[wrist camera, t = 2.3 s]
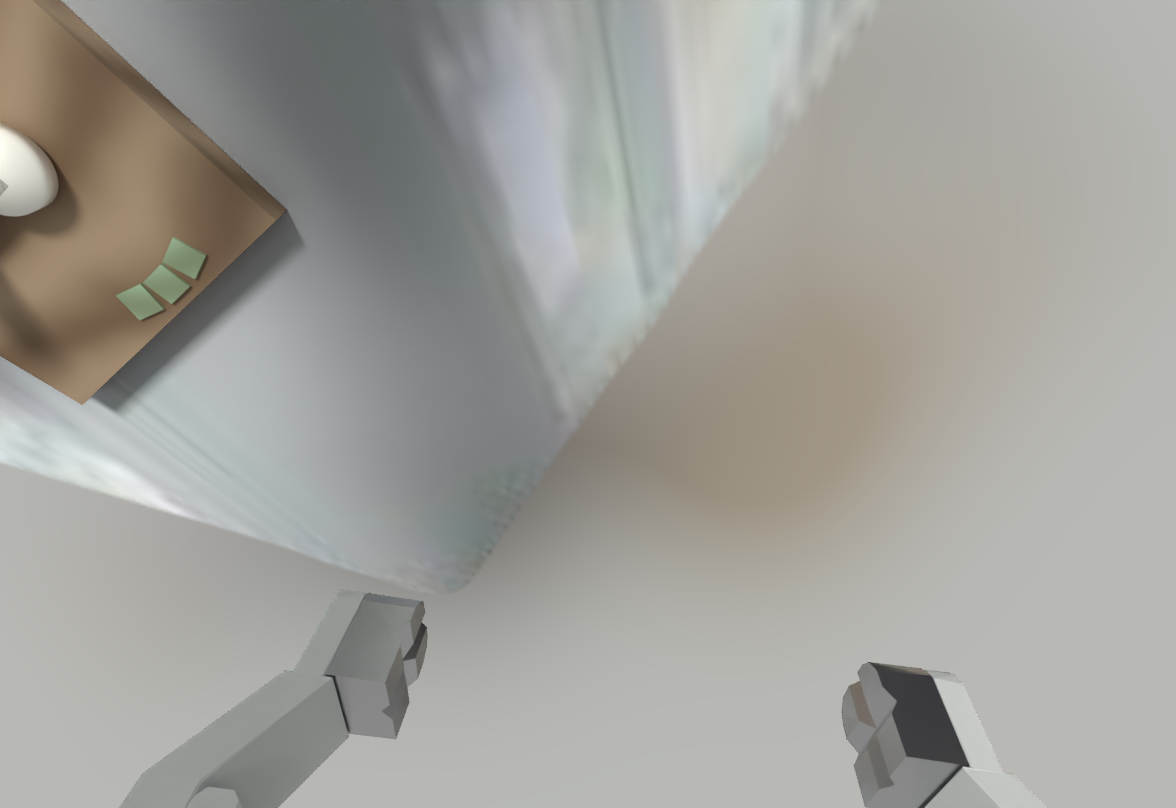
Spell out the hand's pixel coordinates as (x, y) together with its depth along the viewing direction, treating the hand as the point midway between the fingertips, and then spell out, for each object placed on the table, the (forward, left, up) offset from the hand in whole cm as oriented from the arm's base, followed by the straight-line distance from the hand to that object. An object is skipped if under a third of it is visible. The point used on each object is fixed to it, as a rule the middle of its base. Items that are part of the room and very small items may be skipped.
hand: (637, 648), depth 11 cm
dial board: (-19, -23, -31) cm, 43 cm away
